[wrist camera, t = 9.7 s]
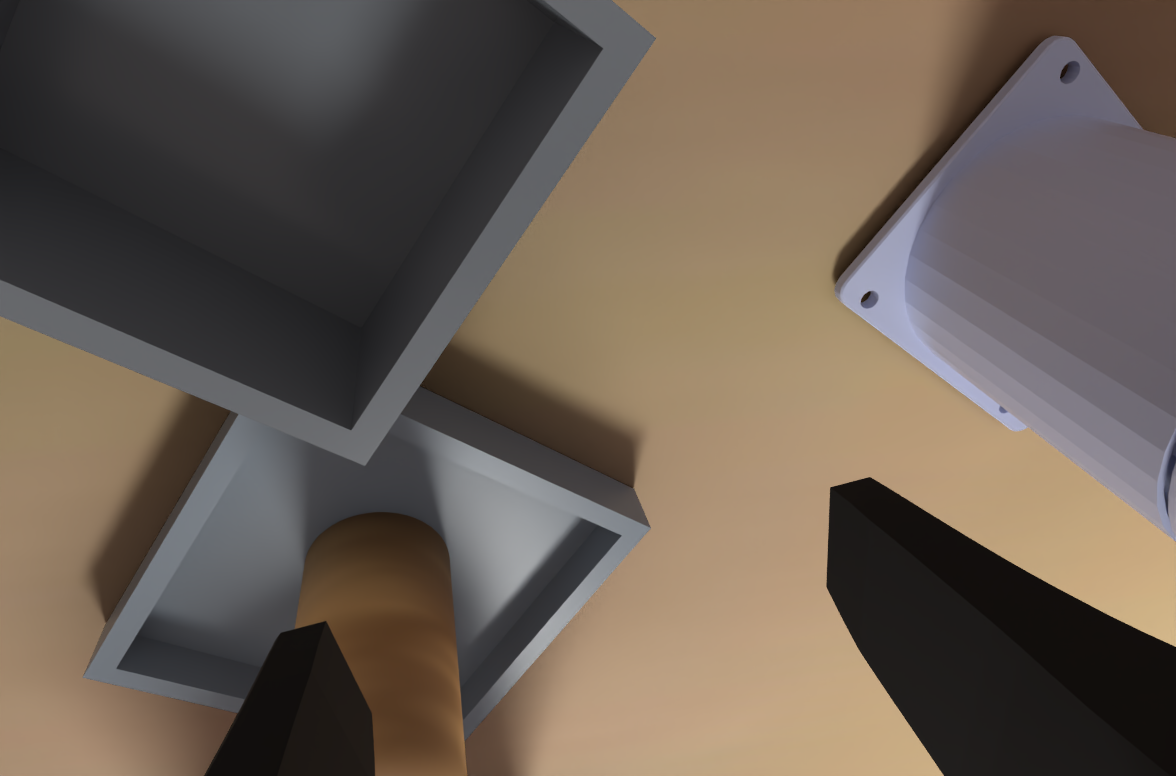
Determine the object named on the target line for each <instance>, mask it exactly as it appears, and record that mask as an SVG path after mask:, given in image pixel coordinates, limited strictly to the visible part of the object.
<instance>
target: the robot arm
mask: <svg viewBox="0 0 1176 776" xmlns="http://www.w3.org/2000/svg"><path fill="white" fill-rule="evenodd" d="M1067 63H1068V68H1067V72H1066V74H1065V75H1064V77H1063V78H1061V79H1060V75H1061V71H1062V69H1063V68H1064V66H1065V65H1066V64H1067ZM869 291H871V294H870V296H869V298H868V299H867V300H866V301H864V302H861V299H862V297H863V295H864V294H865V293H867V292H869ZM835 295H836V297H837V298H838V300H839V301H841V302H842V303H843V304H844V305H845V306H847V307H848V308H849V309H851V310H852V311H853V312H855V313H856V314H857V315H859V316H860V317H861V318H863V319H864V320H865V321H867V322H868V323H869V324H871V325H872V326H873V327H875V328H876V329H877V330H879V331H880V332H881V333H883V334H884V335H885V336H887V337H888V338H889V339H891V340H892V341H893V342H895V343H896V344H897V345H899V346H900V347H901V348H903V349H904V350H905V351H907V352H908V353H909V354H911V355H912V356H913V357H915V358H916V359H917V360H919V361H920V362H921V363H923V364H924V365H925V366H927V367H928V368H929V369H931V370H932V371H933V372H935V373H936V374H937V375H939V376H940V377H941V378H942V379H944V380H945V381H946V382H948V383H949V384H950V385H952V386H953V387H954V388H956V389H957V390H958V391H960V392H961V393H962V394H964V395H965V396H966V397H968V398H969V399H970V400H972V401H973V402H974V403H976V404H977V405H978V406H980V407H981V408H982V409H984V410H985V411H986V412H988V413H989V414H990V415H992V416H993V417H994V418H996V419H997V420H998V421H1000V422H1001V423H1002V424H1004V425H1005V426H1006V427H1008V428H1009V429H1010V430H1013V431H1021V430H1023V429H1026V428H1027V427H1029V428H1030V429H1031V430H1032V431H1034V432H1035V433H1036V434H1038V435H1039V436H1040V437H1041V438H1043V439H1044V440H1045V441H1047V442H1048V443H1049V444H1050V445H1052V446H1053V447H1054V448H1056V449H1057V450H1058V451H1059V452H1061V453H1062V454H1063V455H1065V456H1066V457H1067V458H1068V459H1070V460H1071V461H1072V462H1074V463H1075V464H1076V465H1078V466H1079V467H1080V468H1081V469H1083V470H1084V471H1085V472H1087V473H1088V474H1089V475H1090V476H1092V477H1093V478H1094V479H1096V480H1097V481H1098V482H1099V483H1101V484H1102V485H1103V486H1105V487H1106V488H1107V489H1108V490H1110V491H1111V492H1112V493H1114V494H1115V495H1116V496H1118V497H1119V498H1120V499H1121V500H1123V501H1124V502H1125V503H1127V504H1128V505H1129V506H1130V507H1132V508H1133V509H1134V510H1136V511H1137V512H1138V513H1139V514H1141V515H1142V516H1143V517H1145V518H1146V519H1147V520H1148V521H1150V522H1151V523H1152V524H1154V525H1155V526H1156V527H1157V528H1159V529H1160V530H1161V531H1163V532H1164V533H1165V534H1167V535H1168V536H1169V537H1170V538H1172V539H1173V540H1174V541H1176V138H1173V137H1169V136H1165V135H1162V134H1158V133H1154V132H1150V131H1146V130H1143V128H1142V127H1141V126H1140V125H1139V123H1138V122H1137V121H1136V119H1135V118H1134V117H1133V116H1132V114H1131V113H1130V112H1129V110H1128V109H1127V108H1126V107H1125V105H1124V104H1123V103H1122V101H1121V100H1120V99H1119V98H1118V96H1117V95H1116V94H1115V92H1114V91H1113V90H1112V89H1111V87H1110V86H1109V85H1108V83H1107V82H1106V81H1105V80H1104V78H1103V77H1102V76H1101V74H1100V73H1099V72H1098V71H1097V69H1096V68H1095V67H1094V65H1093V64H1092V63H1091V62H1090V60H1089V59H1088V58H1087V56H1086V55H1085V54H1084V53H1083V51H1082V50H1081V49H1080V47H1079V46H1078V45H1077V43H1076V42H1075V41H1074V40H1072V39H1071V38H1070V37H1064V36H1051V37H1049V38H1047V39H1045V40H1044V41H1043V42H1042V43H1040V44H1039V45H1038V46H1037V48H1036V49H1035V50H1034V51H1033V52H1032V53H1031V55H1030V56H1029V57H1028V58H1027V59H1026V60H1025V62H1024V63H1023V64H1022V65H1021V66H1020V67H1019V69H1018V70H1017V71H1016V72H1015V73H1014V74H1013V76H1012V77H1011V78H1010V79H1009V80H1008V81H1007V83H1006V84H1005V85H1004V86H1003V87H1002V88H1001V90H1000V91H999V92H998V93H997V94H996V95H995V97H994V98H993V99H992V100H991V101H990V102H989V104H988V105H987V106H986V107H985V108H984V109H983V111H982V112H981V113H980V114H979V115H978V116H977V118H976V119H975V120H974V121H973V122H972V123H971V125H970V126H969V127H968V128H967V129H966V130H965V132H964V133H963V134H962V135H961V136H960V137H959V139H958V140H957V141H956V142H955V143H954V144H953V146H952V147H951V148H950V149H949V150H948V151H947V153H946V154H945V155H944V156H943V157H942V158H941V160H940V161H939V162H938V163H937V164H936V165H935V167H934V168H933V169H932V170H931V171H930V172H929V174H928V175H927V176H926V177H925V178H924V179H923V181H922V182H921V183H920V184H919V185H918V186H917V188H916V189H915V190H914V191H913V192H912V193H911V195H910V196H909V197H908V198H907V199H906V200H905V202H904V203H903V204H902V205H901V206H900V207H899V209H898V210H897V211H896V212H895V213H894V214H893V216H892V217H891V218H890V219H889V220H888V221H887V223H886V224H885V225H884V226H883V227H882V228H881V230H880V231H879V232H878V233H877V234H876V235H875V237H874V238H873V239H872V240H871V241H870V242H869V244H868V245H867V246H866V247H865V248H864V249H863V251H862V252H861V253H860V254H859V255H858V256H857V258H856V259H855V260H854V261H853V262H852V263H851V265H850V266H849V267H848V268H847V269H846V270H845V272H844V273H843V274H842V275H841V276H840V278H839V279H838V281H837V282H836V286H835ZM827 589H828V591H829V593H830V595H831V597H832V599H833V601H834V603H835V605H836V607H837V609H838V611H839V613H840V615H841V617H842V619H843V621H844V623H845V624H846V626H847V628H848V630H849V632H850V634H851V636H852V638H853V639H854V641H855V643H856V645H857V647H858V649H859V651H860V652H861V654H862V655H863V657H864V658H865V660H866V661H867V663H868V664H869V666H870V667H871V669H872V670H873V672H874V673H875V675H876V676H877V678H878V679H879V681H880V682H881V684H882V685H883V687H884V688H885V690H886V691H887V693H888V694H889V696H890V697H891V699H892V700H893V701H894V703H895V704H896V706H897V707H898V709H899V710H900V712H901V713H902V715H903V716H904V718H905V719H906V721H907V722H908V723H909V725H910V726H911V728H912V729H913V731H914V732H915V734H916V735H917V737H918V738H919V740H920V741H921V743H922V744H923V745H924V747H925V748H926V750H927V751H928V753H929V754H930V756H931V757H932V759H933V760H934V762H935V763H936V765H937V766H938V767H939V769H940V770H941V772H942V773H943V775H944V776H1176V647H1175V646H1172V645H1170V644H1168V643H1166V642H1164V641H1161V640H1159V639H1157V638H1155V637H1153V636H1151V635H1148V634H1146V633H1144V632H1142V631H1140V630H1138V629H1136V628H1134V627H1132V626H1129V625H1127V624H1125V623H1123V622H1121V621H1119V620H1117V619H1115V618H1113V617H1111V616H1109V615H1107V614H1105V613H1103V612H1101V611H1099V610H1098V609H1096V608H1094V607H1092V606H1090V605H1088V604H1086V603H1084V602H1082V601H1080V600H1078V599H1077V598H1075V597H1073V596H1071V595H1069V594H1067V593H1065V592H1063V591H1061V590H1059V589H1057V588H1056V587H1054V586H1052V585H1050V584H1048V583H1047V582H1045V581H1043V580H1041V579H1039V578H1037V577H1036V576H1034V575H1032V574H1030V573H1028V572H1027V571H1025V570H1023V569H1021V568H1020V567H1018V566H1016V565H1014V564H1013V563H1011V562H1009V561H1007V560H1006V559H1004V558H1002V557H1001V556H999V555H997V554H995V553H994V552H992V551H990V550H989V549H987V548H985V547H984V546H982V545H980V544H979V543H977V542H975V541H974V540H972V539H970V538H968V537H967V536H965V535H963V534H962V533H960V532H959V531H957V530H955V529H954V528H952V527H950V526H949V525H947V524H946V523H944V522H942V521H941V520H939V519H937V518H936V517H934V516H933V515H931V514H929V513H928V512H926V511H924V510H923V509H921V508H920V507H918V506H916V505H915V504H913V503H912V502H910V501H908V500H907V499H905V498H904V497H902V496H900V495H899V494H897V493H895V492H894V491H892V490H891V489H889V488H887V487H886V486H884V485H882V484H881V483H879V482H877V481H876V480H874V479H872V478H871V477H868V478H865V479H861V480H857V481H853V482H849V483H846V484H842V485H838V486H834V487H830V509H829V535H828V561H827ZM204 776H375V756H374V738H373V721H372V712H371V710H370V708H369V706H368V704H367V702H366V700H365V698H364V696H363V694H362V692H361V690H360V688H359V686H358V684H357V682H356V680H355V678H354V676H353V674H352V672H351V670H350V668H349V666H348V664H347V662H346V660H345V658H344V656H343V654H342V652H341V650H340V648H339V646H338V644H337V642H336V640H335V638H334V636H333V634H332V632H331V629H330V627H329V625H328V623H327V621H323V622H320V623H316V624H312V625H308V626H304V627H301V628H297V629H293V630H289V631H285V632H282V633H280V634H279V636H278V637H277V638H276V640H275V641H274V643H273V645H272V647H271V649H270V651H269V653H268V655H267V657H266V659H265V661H264V663H263V665H262V667H261V669H260V671H259V673H258V675H257V677H256V679H255V681H254V683H253V685H252V687H251V689H250V691H249V693H248V695H247V696H246V698H245V700H244V702H243V704H242V706H241V708H240V710H239V712H238V714H237V716H236V718H235V720H234V722H233V723H232V725H231V727H230V729H229V731H228V733H227V735H226V737H225V739H224V741H223V742H222V744H221V746H220V748H219V750H218V751H217V753H216V755H215V757H214V759H213V761H212V762H211V764H210V766H209V768H208V770H207V771H206V773H205V775H204Z"/></svg>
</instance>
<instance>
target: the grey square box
mask: <svg viewBox="0 0 1176 776" xmlns="http://www.w3.org/2000/svg"><path fill="white" fill-rule="evenodd" d="M655 39H656V38H655V37H654V36H653V35H652V34H650V33H649V32H648V31H647V30H646V29H645V28H643V27H642V26H641V25H640V24H639V23H637V22H636V21H635V20H634V19H633V18H632V17H630V16H629V15H628V14H627V13H626V12H625V11H623V10H622V9H621V8H620V7H619V6H618V5H616V4H615V3H614V2H613V1H612V0H0V316H1V317H3V318H6V319H8V320H11V321H13V322H16V323H18V324H20V325H23V326H25V327H28V328H30V329H33V330H35V331H38V332H40V333H42V334H45V335H47V336H50V337H52V338H55V339H57V340H59V341H62V342H64V343H67V344H69V345H72V346H74V347H77V348H79V349H81V350H84V351H86V352H89V353H91V354H94V355H96V356H98V357H101V358H103V359H106V360H108V361H111V362H113V363H116V364H118V365H120V366H123V367H125V368H128V369H130V370H133V371H135V372H137V373H140V374H142V375H145V376H147V377H150V378H152V379H154V380H157V381H159V382H162V383H164V384H167V385H169V386H172V387H174V388H176V389H179V390H181V391H184V392H186V393H189V394H191V395H193V396H196V397H198V398H201V399H203V400H206V401H208V402H211V403H213V404H215V405H218V406H220V407H223V408H225V409H228V410H230V411H232V412H235V413H237V414H240V415H242V416H245V417H247V418H250V419H252V420H254V421H257V422H259V423H262V424H264V425H267V426H269V427H271V428H274V429H276V430H279V431H281V432H284V433H286V434H288V435H291V436H293V437H296V438H298V439H301V440H303V441H306V442H308V443H310V444H313V445H315V446H318V447H320V448H323V449H325V450H327V451H330V452H332V453H335V454H337V455H340V456H342V457H345V458H347V459H349V460H352V461H354V462H357V463H359V464H362V465H364V466H365V465H366V464H367V462H368V461H369V459H370V458H371V456H372V455H373V453H374V452H375V450H376V449H377V448H378V446H379V445H380V443H381V442H382V440H383V439H384V437H385V436H386V434H387V433H388V431H389V430H390V428H391V427H392V425H393V424H394V423H395V421H396V420H397V418H398V417H399V415H400V414H401V412H402V411H403V409H404V408H405V406H406V405H407V403H408V402H409V401H410V399H411V398H412V396H413V395H414V393H415V392H416V390H417V389H418V387H419V386H420V384H421V383H422V381H423V380H424V378H425V377H426V376H427V374H428V373H429V371H430V370H431V368H432V367H433V365H434V364H435V362H436V361H437V359H438V358H439V356H440V355H441V354H442V352H443V351H444V349H445V348H446V346H447V345H448V343H449V342H450V340H451V339H452V337H453V336H454V334H455V333H456V331H457V330H458V329H459V327H460V326H461V324H462V323H463V321H464V320H465V318H466V317H467V315H468V314H469V312H470V311H471V309H472V308H473V307H474V305H475V304H476V302H477V301H478V299H479V298H480V296H481V295H482V293H483V292H484V290H485V289H486V287H487V286H488V284H489V283H490V282H491V280H492V279H493V277H494V276H495V274H496V273H497V271H498V270H499V268H500V267H501V265H502V264H503V262H504V261H505V260H506V258H507V257H508V255H509V254H510V252H511V251H512V249H513V248H514V246H515V245H516V243H517V242H518V240H519V239H520V237H521V236H522V235H523V233H524V232H525V230H526V229H527V227H528V226H529V224H530V223H531V221H532V220H533V218H534V217H535V215H536V214H537V213H538V211H539V210H540V208H541V207H542V205H543V204H544V202H545V201H546V199H547V198H548V196H549V195H550V193H551V192H552V190H553V189H554V188H555V186H556V185H557V183H558V182H559V180H560V179H561V177H562V176H563V174H564V173H565V171H566V170H567V168H568V167H569V166H570V164H571V163H572V161H573V160H574V158H575V157H576V155H577V154H578V152H579V151H580V149H581V148H582V146H583V145H584V143H585V142H586V141H587V139H588V138H589V136H590V135H591V133H592V132H593V130H594V129H595V127H596V126H597V124H598V123H599V121H600V120H601V118H602V117H603V116H604V114H605V113H606V111H607V110H608V108H609V107H610V105H611V104H612V102H613V101H614V99H615V98H616V96H617V95H618V94H619V92H620V91H621V89H622V88H623V86H624V85H625V83H626V82H627V80H628V79H629V77H630V76H631V74H632V73H633V71H634V70H635V69H636V67H637V66H638V64H639V63H640V61H641V60H642V58H643V57H644V55H645V54H646V52H647V51H648V49H649V48H650V47H651V45H652V44H653V42H654V41H655Z"/></svg>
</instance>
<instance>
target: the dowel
mask: <svg viewBox="0 0 1176 776" xmlns="http://www.w3.org/2000/svg"><path fill="white" fill-rule="evenodd" d="M323 621H327V623H328V625H329V627H330V629H331V632H332V634H333V636H334V638H335V640H336V642H337V644H338V646H339V648H340V650H341V652H342V654H343V656H344V658H345V660H346V662H347V664H348V666H349V668H350V670H351V672H352V674H353V676H354V678H355V680H356V682H357V684H358V686H359V688H360V690H361V692H362V694H363V696H364V698H365V700H366V702H367V704H368V706H369V708H370V710H371V712H372V721H373V738H374V756H375V776H467V768H466V755H465V743H464V731H463V718H462V706H461V693H460V681H459V669H458V656H457V644H456V631H455V619H454V607H453V594H452V582H451V569H450V557H449V552H448V549H447V546H446V544H445V542H444V540H443V539H442V537H441V536H440V535H439V534H438V533H437V532H436V531H435V530H434V529H433V528H432V527H430V526H429V525H427V524H426V523H424V522H422V521H420V520H418V519H416V518H413V517H410V516H407V515H403V514H399V513H391V512H372V513H365V514H359V515H356V516H352V517H349V518H346V519H344V520H341V521H339V522H337V523H336V524H334V525H332V526H330V527H329V528H328V529H326V530H325V531H324V532H323V533H321V534H320V535H319V536H318V537H317V538H316V540H315V541H314V542H313V544H312V545H311V547H310V548H309V550H308V553H307V556H306V559H305V565H304V571H303V578H302V584H301V591H300V597H299V604H298V610H297V617H296V623H295V629H297V628H301V627H304V626H308V625H312V624H316V623H320V622H323Z"/></svg>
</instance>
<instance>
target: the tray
mask: <svg viewBox="0 0 1176 776" xmlns="http://www.w3.org/2000/svg"><path fill="white" fill-rule="evenodd" d="M372 512H391V513H399V514H403V515H407V516H410V517H413V518H416V519H418V520H420V521H422V522H424V523H426V524H427V525H429V526H430V527H432V528H433V529H434V530H435V531H436V532H437V533H438V534H439V535H440V536H441V537H442V539H443V540H444V542H445V544H446V546H447V549H448V552H449V557H450V569H451V582H452V594H453V607H454V619H455V631H456V644H457V656H458V669H459V681H460V693H461V706H462V718H463V731H464V741H465V740H466V739H467V738H468V737H469V736H470V735H471V733H472V732H473V731H474V730H475V729H476V728H477V727H478V725H479V724H480V723H481V722H482V721H483V720H484V719H485V717H486V716H487V715H488V714H489V713H490V712H491V711H492V709H493V708H494V707H495V706H496V705H497V704H498V702H499V701H500V700H501V699H502V698H503V697H504V696H505V694H506V693H507V692H508V691H509V690H510V689H511V688H512V686H513V685H514V684H515V683H516V682H517V681H518V680H519V678H520V677H521V676H522V675H523V674H524V673H525V672H526V670H527V669H528V668H529V667H530V666H531V665H532V664H533V662H534V661H535V660H536V659H537V658H538V657H539V655H540V654H541V653H542V652H543V651H544V650H545V649H546V647H547V646H548V645H549V644H550V643H551V642H552V641H553V639H554V638H555V637H556V636H557V635H558V634H559V633H560V631H561V630H562V629H563V628H564V627H565V626H566V625H567V623H568V622H569V621H570V620H571V619H572V618H573V617H574V615H575V614H576V613H577V612H578V611H579V610H580V609H581V607H582V606H583V605H584V604H585V603H586V602H587V600H588V599H589V598H590V597H591V596H592V595H593V594H594V592H595V591H596V590H597V589H598V588H599V587H600V586H601V584H602V583H603V582H604V581H605V580H606V579H607V578H608V576H609V575H610V574H611V573H612V572H613V571H614V570H615V568H616V567H617V566H618V565H619V564H620V563H621V562H622V560H623V559H624V558H625V557H626V556H627V555H628V553H629V552H630V551H631V550H632V549H633V548H634V547H635V545H636V544H637V543H638V542H639V541H640V540H641V539H642V537H643V536H644V535H645V534H646V533H647V532H648V531H649V529H650V528H651V527H650V525H649V523H648V520H647V518H646V516H645V513H644V511H643V509H642V506H641V504H640V502H639V499H638V497H637V495H636V492H635V490H634V489H633V488H631V487H629V486H627V485H625V484H623V483H621V482H619V481H616V480H614V479H612V478H610V477H608V476H606V475H604V474H602V473H600V472H598V471H596V470H594V469H591V468H589V467H587V466H585V465H583V464H581V463H579V462H577V461H575V460H573V459H571V458H568V457H566V456H564V455H562V454H560V453H558V452H556V451H554V450H552V449H550V448H548V447H546V446H543V445H541V444H539V443H537V442H535V441H533V440H531V439H529V438H527V437H525V436H523V435H521V434H518V433H516V432H514V431H512V430H510V429H508V428H506V427H504V426H502V425H500V424H498V423H496V422H493V421H491V420H489V419H487V418H485V417H483V416H481V415H479V414H477V413H475V412H473V411H471V410H468V409H466V408H464V407H462V406H460V405H458V404H456V403H454V402H452V401H450V400H448V399H446V398H443V397H441V396H439V395H437V394H435V393H433V392H431V391H429V390H427V389H425V388H423V387H421V386H419V387H418V389H417V390H416V392H415V393H414V395H413V396H412V398H411V399H410V401H409V402H408V403H407V405H406V406H405V408H404V409H403V411H402V412H401V414H400V415H399V417H398V418H397V420H396V421H395V423H394V424H393V425H392V427H391V428H390V430H389V431H388V433H387V434H386V436H385V437H384V439H383V440H382V442H381V443H380V445H379V446H378V448H377V449H376V450H375V452H374V453H373V455H372V456H371V458H370V459H369V461H368V462H367V464H366V465H365V466H364V465H362V464H359V463H357V462H354V461H352V460H349V459H347V458H345V457H342V456H340V455H337V454H335V453H332V452H330V451H327V450H325V449H323V448H320V447H318V446H315V445H313V444H310V443H308V442H306V441H303V440H301V439H298V438H296V437H293V436H291V435H288V434H286V433H284V432H281V431H279V430H276V429H274V428H271V427H269V426H267V425H264V424H262V423H259V422H257V421H254V420H252V419H250V418H247V417H245V416H242V415H240V414H237V413H235V412H232V411H231V412H230V413H229V415H228V417H227V418H226V420H225V422H224V424H223V425H222V427H221V429H220V430H219V432H218V434H217V435H216V437H215V439H214V441H213V442H212V444H211V446H210V447H209V449H208V451H207V453H206V454H205V456H204V458H203V459H202V461H201V463H200V464H199V466H198V468H197V470H196V471H195V473H194V475H193V476H192V478H191V480H190V481H189V483H188V485H187V487H186V488H185V490H184V492H183V493H182V495H181V497H180V498H179V500H178V502H177V504H176V505H175V507H174V509H173V510H172V512H171V514H170V516H169V517H168V519H167V521H166V522H165V524H164V526H163V527H162V529H161V531H160V533H159V534H158V536H157V538H156V539H155V541H154V543H153V544H152V546H151V548H150V550H149V551H148V553H147V555H146V556H145V558H144V560H143V562H142V563H141V565H140V567H139V568H138V570H137V572H136V573H135V575H134V577H133V579H132V580H131V582H130V584H129V585H128V587H127V589H126V590H125V592H124V594H123V596H122V597H121V599H120V601H119V602H118V604H117V606H116V608H115V609H114V611H113V613H112V614H111V616H110V618H109V619H108V621H107V623H106V625H105V627H104V629H103V631H102V634H101V636H100V638H99V641H98V643H97V645H96V648H95V650H94V652H93V655H92V657H91V659H90V662H89V664H88V666H87V669H86V671H85V673H84V676H83V678H87V679H91V680H96V681H100V682H104V683H109V684H113V685H117V686H122V687H126V688H131V689H135V690H139V691H144V692H148V693H152V694H157V695H161V696H165V697H170V698H174V699H178V700H183V701H187V702H192V703H196V704H200V705H205V706H209V707H213V708H218V709H222V710H226V711H231V712H235V713H238V712H239V710H240V708H241V706H242V704H243V702H244V700H245V698H246V696H247V695H248V693H249V691H250V689H251V687H252V685H253V683H254V681H255V679H256V677H257V675H258V673H259V671H260V669H261V667H262V665H263V663H264V661H265V659H266V657H267V655H268V653H269V651H270V649H271V647H272V645H273V643H274V641H275V640H276V638H277V637H278V636H279V634H280V633H282V632H285V631H289V630H293V629H295V623H296V617H297V610H298V604H299V597H300V591H301V584H302V578H303V571H304V565H305V559H306V556H307V553H308V550H309V548H310V547H311V545H312V544H313V542H314V541H315V540H316V538H317V537H318V536H319V535H320V534H321V533H323V532H324V531H325V530H326V529H328V528H329V527H330V526H332V525H334V524H336V523H337V522H339V521H341V520H344V519H346V518H349V517H352V516H356V515H359V514H365V513H372Z"/></svg>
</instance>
